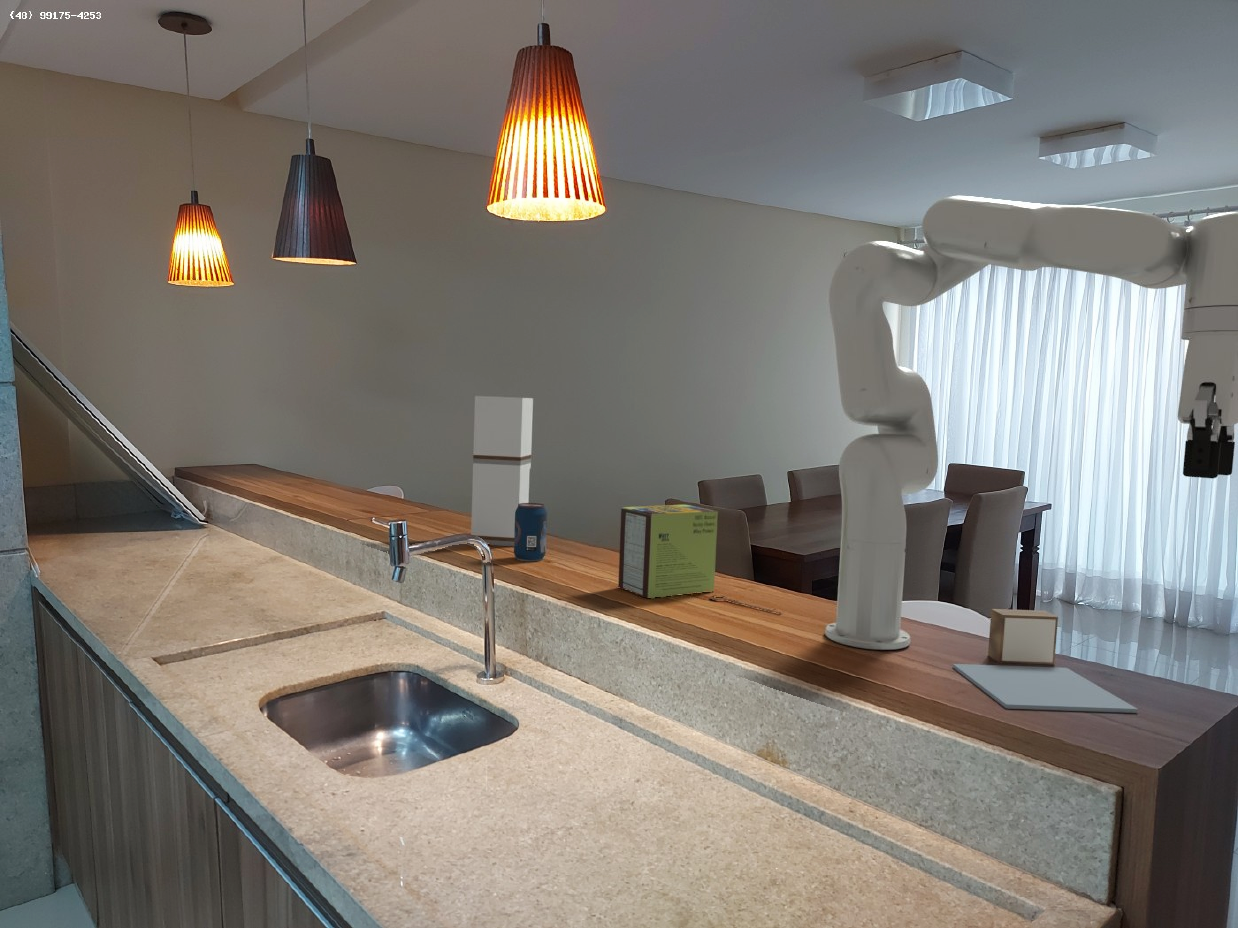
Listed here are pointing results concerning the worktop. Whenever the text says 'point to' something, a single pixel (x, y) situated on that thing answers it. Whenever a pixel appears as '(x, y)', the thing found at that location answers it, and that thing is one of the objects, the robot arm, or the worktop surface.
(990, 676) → the rubber mat
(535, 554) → the soda can
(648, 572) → the protein box
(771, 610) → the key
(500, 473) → the banded white tower
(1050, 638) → the wooden block
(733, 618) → the worktop surface
